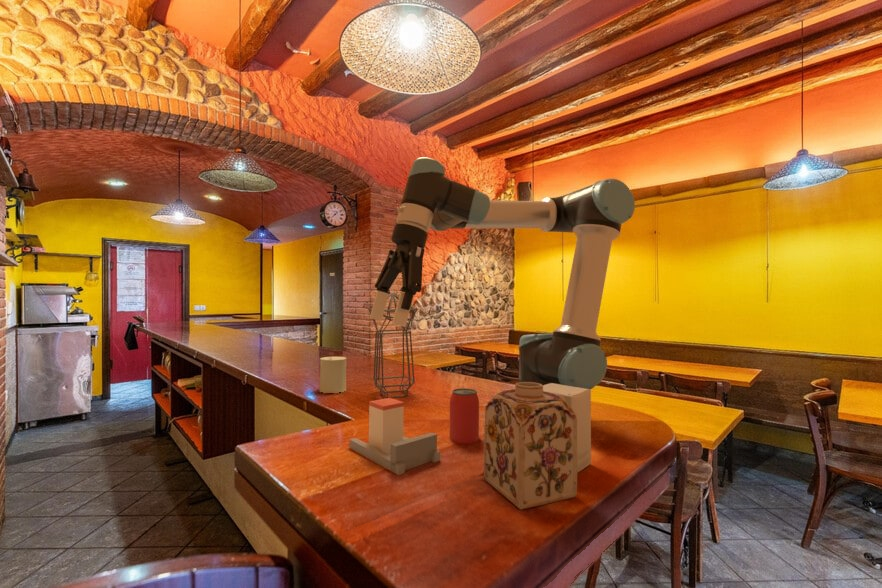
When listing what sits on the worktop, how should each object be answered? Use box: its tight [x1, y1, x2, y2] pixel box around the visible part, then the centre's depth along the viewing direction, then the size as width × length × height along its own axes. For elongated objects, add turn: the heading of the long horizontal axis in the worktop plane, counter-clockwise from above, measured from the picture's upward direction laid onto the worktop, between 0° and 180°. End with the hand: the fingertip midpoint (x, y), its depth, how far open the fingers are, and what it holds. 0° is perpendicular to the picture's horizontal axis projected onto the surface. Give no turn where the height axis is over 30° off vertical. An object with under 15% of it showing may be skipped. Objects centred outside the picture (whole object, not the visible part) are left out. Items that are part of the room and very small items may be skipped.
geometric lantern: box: [367, 292, 420, 398], centre depth 135 cm, size 16×16×35 cm
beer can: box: [448, 387, 480, 444], centre depth 88 cm, size 7×7×12 cm
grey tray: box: [349, 432, 441, 476], centre depth 78 cm, size 20×12×6 cm, turn 42°
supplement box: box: [543, 383, 592, 474], centre depth 78 cm, size 9×9×15 cm
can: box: [318, 355, 347, 394], centre depth 140 cm, size 9×9×12 cm
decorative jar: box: [483, 381, 578, 510], centre depth 68 cm, size 12×12×18 cm
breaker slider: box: [368, 398, 405, 455], centre depth 80 cm, size 5×5×10 cm
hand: (386, 322), depth 84 cm, fingers open, 13 cm apart
